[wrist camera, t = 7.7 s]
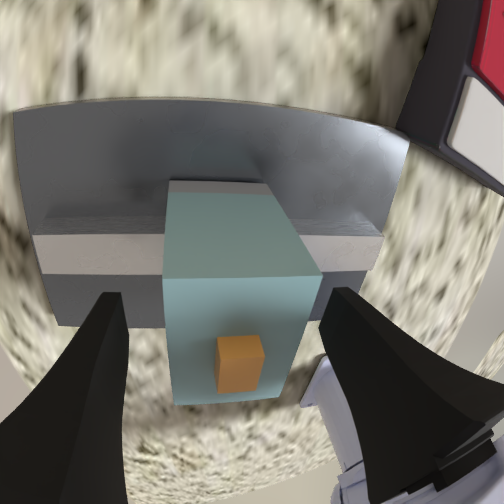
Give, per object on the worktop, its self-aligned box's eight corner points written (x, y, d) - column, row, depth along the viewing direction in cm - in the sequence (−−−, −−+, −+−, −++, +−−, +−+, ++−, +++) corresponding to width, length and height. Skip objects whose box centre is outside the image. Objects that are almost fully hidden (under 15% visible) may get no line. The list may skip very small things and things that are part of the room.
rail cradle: (400, 129, 14) (430, 144, 12) (341, 307, 20) (357, 334, 18) (23, 108, 10) (-5, 120, 8) (62, 313, 16) (52, 345, 14)
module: (266, 183, 13) (334, 296, 7) (248, 293, 16) (284, 414, 11) (169, 180, 12) (161, 302, 6) (170, 295, 15) (175, 423, 10)
